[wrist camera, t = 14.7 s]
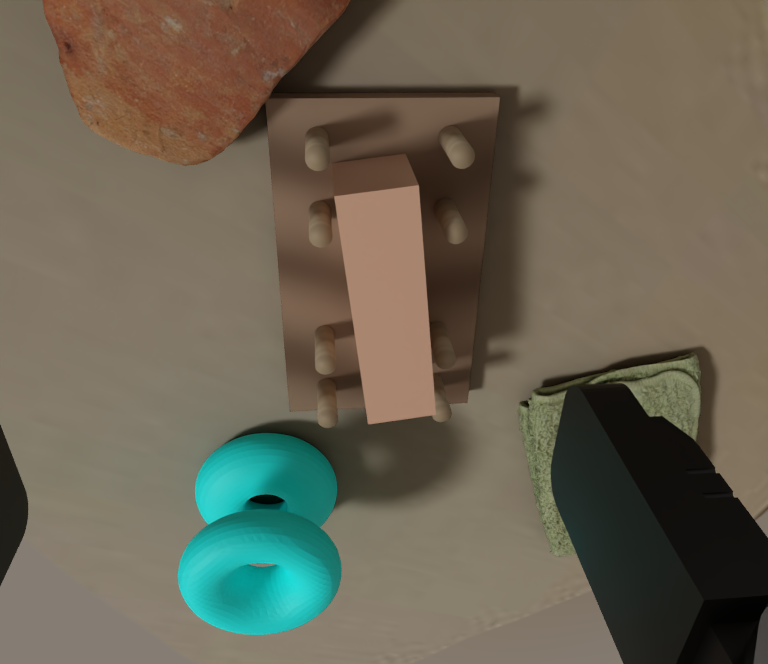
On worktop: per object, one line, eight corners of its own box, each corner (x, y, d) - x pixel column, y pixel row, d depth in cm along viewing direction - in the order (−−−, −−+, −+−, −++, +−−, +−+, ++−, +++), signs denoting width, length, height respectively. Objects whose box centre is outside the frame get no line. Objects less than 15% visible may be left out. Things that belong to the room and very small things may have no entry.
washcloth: (693, 337, 45) (717, 363, 42) (686, 506, 55) (706, 537, 52) (509, 381, 46) (521, 410, 43) (534, 542, 55) (545, 574, 52)
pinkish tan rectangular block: (330, 163, 35) (334, 196, 30) (405, 153, 35) (418, 185, 30) (362, 374, 42) (368, 424, 38) (423, 365, 42) (435, 414, 38)
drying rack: (266, 93, 33) (260, 116, 30) (494, 92, 35) (518, 114, 31) (290, 400, 44) (288, 447, 40) (463, 392, 45) (478, 437, 41)
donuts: (139, 604, 39) (247, 513, 35) (170, 482, 47) (259, 400, 44) (269, 662, 43) (376, 585, 40) (275, 541, 51) (364, 470, 48)
